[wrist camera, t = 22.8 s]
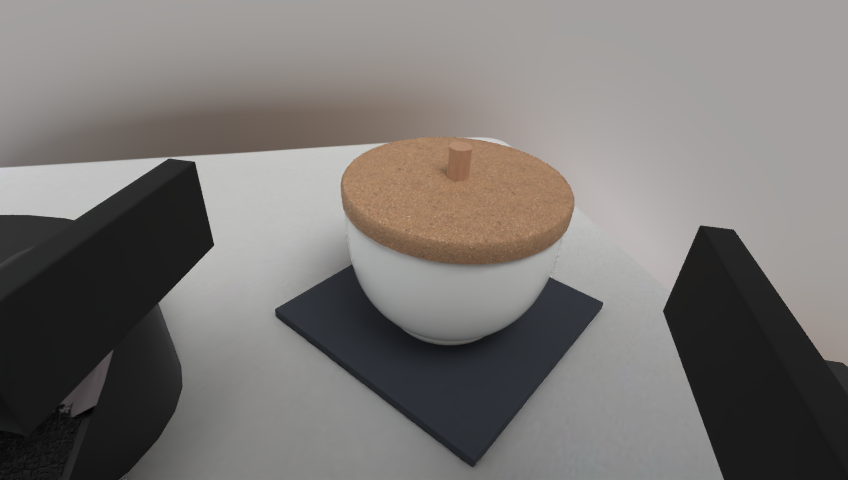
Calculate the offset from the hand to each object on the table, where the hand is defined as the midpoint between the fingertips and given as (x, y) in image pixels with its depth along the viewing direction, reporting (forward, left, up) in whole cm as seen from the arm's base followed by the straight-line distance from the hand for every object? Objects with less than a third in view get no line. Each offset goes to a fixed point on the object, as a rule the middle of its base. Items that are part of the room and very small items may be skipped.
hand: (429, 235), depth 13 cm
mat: (+5, -8, -11) cm, 15 cm away
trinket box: (+5, -8, -11) cm, 14 cm away
